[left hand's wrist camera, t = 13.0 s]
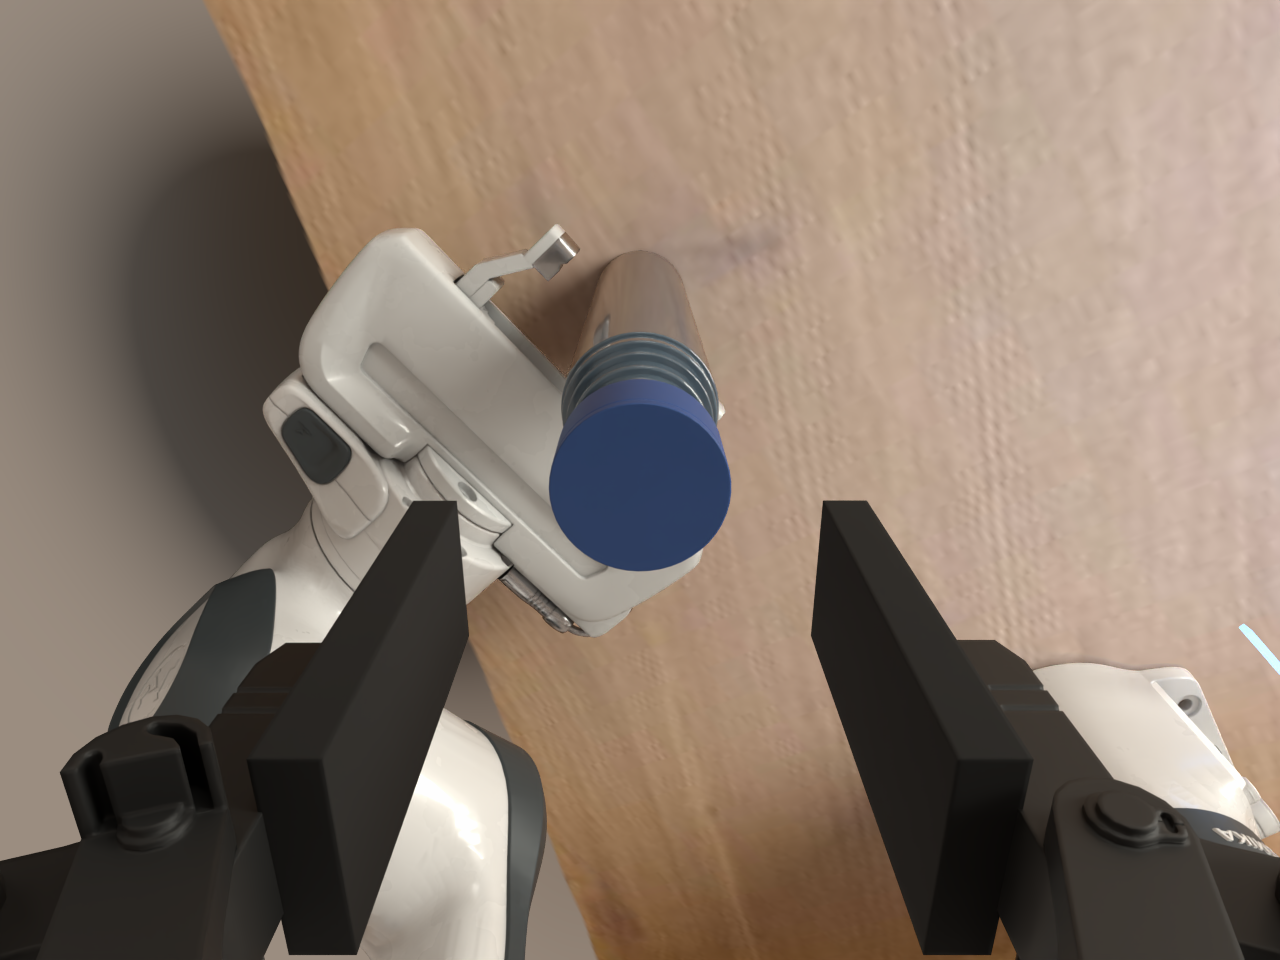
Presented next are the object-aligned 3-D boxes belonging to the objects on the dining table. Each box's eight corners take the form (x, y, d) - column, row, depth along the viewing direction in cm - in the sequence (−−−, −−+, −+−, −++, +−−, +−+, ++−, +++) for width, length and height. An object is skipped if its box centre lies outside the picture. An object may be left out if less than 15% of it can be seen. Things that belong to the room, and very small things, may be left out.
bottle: (607, 349, 43) (568, 591, 20) (585, 262, 42) (513, 412, 18) (693, 329, 43) (758, 551, 19) (673, 240, 41) (719, 364, 18)
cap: (581, 548, 21) (576, 588, 19) (537, 399, 20) (526, 426, 18) (737, 514, 21) (747, 551, 19) (703, 360, 19) (711, 384, 17)
